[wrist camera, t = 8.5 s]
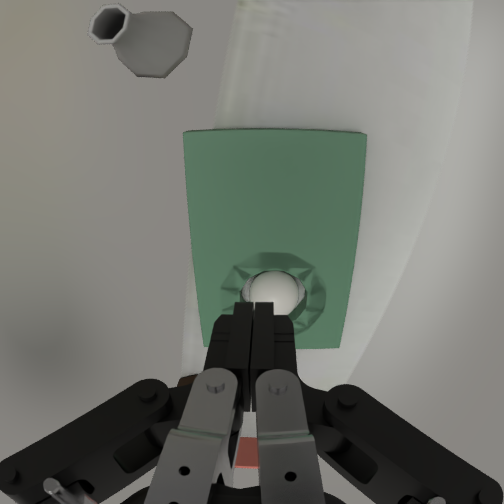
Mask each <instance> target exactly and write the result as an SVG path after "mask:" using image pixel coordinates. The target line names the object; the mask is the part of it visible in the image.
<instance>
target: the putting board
mask: <svg viewBox="0 0 504 504" xmlns="http://www.w3.org/2000/svg"><path fill="white" fill-rule="evenodd" d="M183 142H184V159H185V175H186V189H187V201H188V213H189V224H190V235H191V245H192V255H193V264H194V273H195V282H196V291H197V299H198V307H199V315H200V322H201V330H202V337H203V344H204V347H209V343H210V338H211V334H212V329H213V325H214V322H215V321H216V320H217V319H218V317H219V316H220V315H221V314H233V310H234V304H235V302H245V301H244V299H243V298H242V296H241V289H242V287H243V286H244V284H245V283H246V281H247V280H248V279H249V278H251V277H253V276H255V275H257V274H259V273H261V272H263V271H285V272H287V273H289V274H291V275H293V276H295V277H296V278H298V279H300V281H301V282H302V284H303V286H304V287H305V297H304V298H303V300H302V301H301V302H300V303H299V305H298V306H297V307H296V308H295V309H294V310H293V311H292V312H291V313H289V314H288V317H289V318H290V319H291V321H292V322H293V325H294V337H295V349H325V348H339V347H340V342H341V337H342V332H343V327H344V322H345V316H346V311H347V305H348V300H349V294H350V288H351V282H352V275H353V269H354V262H355V255H356V248H357V240H358V232H359V224H360V215H361V206H362V195H363V185H364V172H365V159H366V142H367V134H364V133H361V132H349V131H334V130H316V129H285V128H240V129H210V130H191V131H186V132H183ZM235 468H258V450H257V438H251V437H250V438H249V437H240V441H239V447H238V452H237V457H236V463H235Z"/></svg>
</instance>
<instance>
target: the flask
mask: <svg viewBox="0 0 504 504" xmlns="http://www.w3.org/2000/svg"><path fill="white" fill-rule="evenodd" d="M192 30H193V28H191V27H190V26H189V25H188V24H187V23H186V22H184V21H183V20H182V19H181V18H180V17H179V16H177V15H176V14H175V13H174V12H141V13H137V14H132V13H131V12H130V11H128V10H127V9H126V8H125V7H124V6H122V5H121V4H119V3H118V4H107V5H102V7H101V8H100V9H99V10H98V11H97V12H96V13H95V14H94V16H93V17H92V18H91V20H90V24H89V29H88V33H87V35H88V36H89V37H90V38H91V39H92V40H94V41H95V42H96V43H97V44H112V45H113V47H114V49H115V51H116V54H117V57H118V59H119V60H120V61H121V62H122V63H123V64H124V65H125V66H126V67H127V68H128V69H130V70H131V71H132V72H133V73H134V74H135V75H136V76H137V77H154V78H166V77H167V76H168V75H169V74H170V73H171V71H173V70H174V69H175V68H176V67H177V66H178V65H179V64H180V63H181V62H182V61H183V60H184V59H185V58H186V57H187V54H188V49H189V44H190V40H191V35H192Z"/></svg>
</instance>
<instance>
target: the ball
mask: <svg viewBox="0 0 504 504" xmlns="http://www.w3.org/2000/svg"><path fill="white" fill-rule="evenodd" d="M249 298H250V302H254V310H255V302H274V315H288V314H289V313H291V312H292V311H293V309H294V308H295V306H296V304H297V302H298V298H299V291H298V287H297V284H296V282H295V280H294V279H293V278H292V277H291V276H290V275H289V274H287V273H286V272H284V271H265V272H262V273H261V274H259V275H258V276H257V277H256V278H255V279H254V280H253V282H252V284H251V286H250V290H249Z"/></svg>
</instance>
